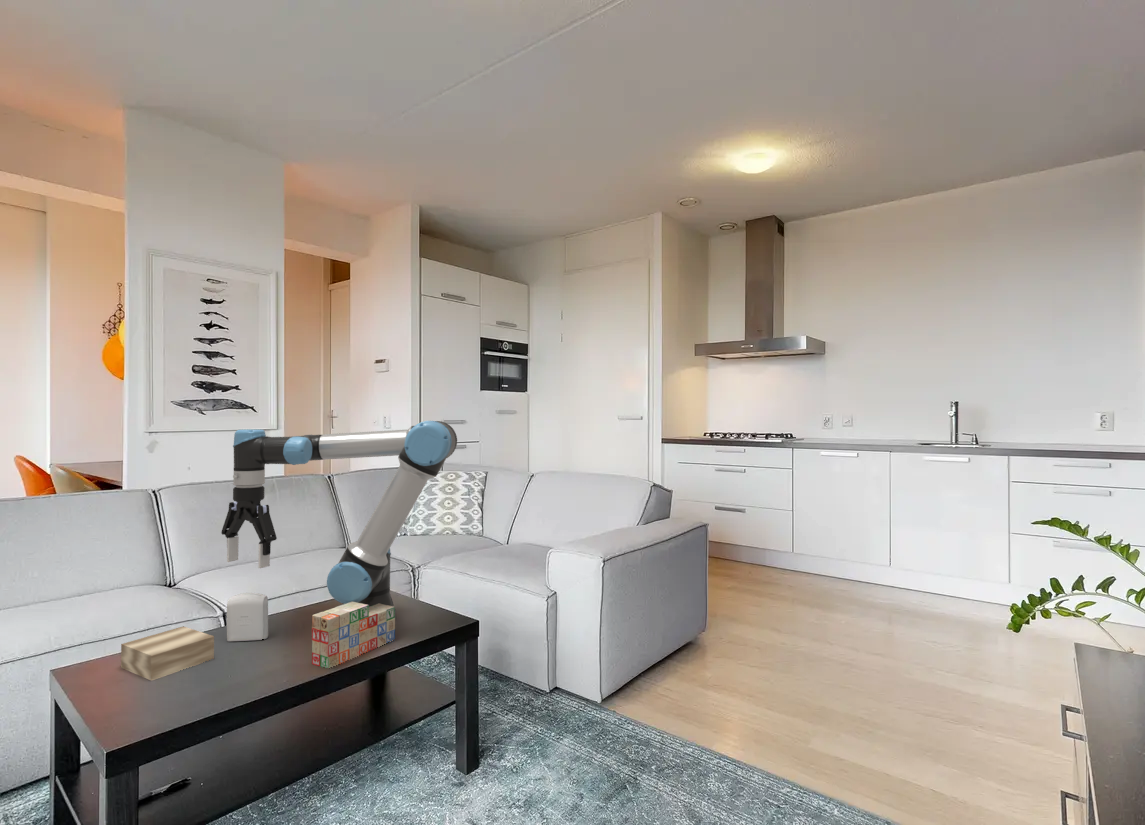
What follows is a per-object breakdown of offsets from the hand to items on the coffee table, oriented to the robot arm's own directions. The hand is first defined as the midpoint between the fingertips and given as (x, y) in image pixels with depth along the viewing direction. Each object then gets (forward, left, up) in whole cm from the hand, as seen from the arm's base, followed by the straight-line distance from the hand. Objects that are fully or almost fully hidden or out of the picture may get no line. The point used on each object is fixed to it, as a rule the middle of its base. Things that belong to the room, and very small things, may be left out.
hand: (248, 564), depth 160 cm
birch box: (+2, +19, -21) cm, 28 cm away
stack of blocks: (-32, -8, -21) cm, 39 cm away
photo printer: (0, 0, -21) cm, 21 cm away
